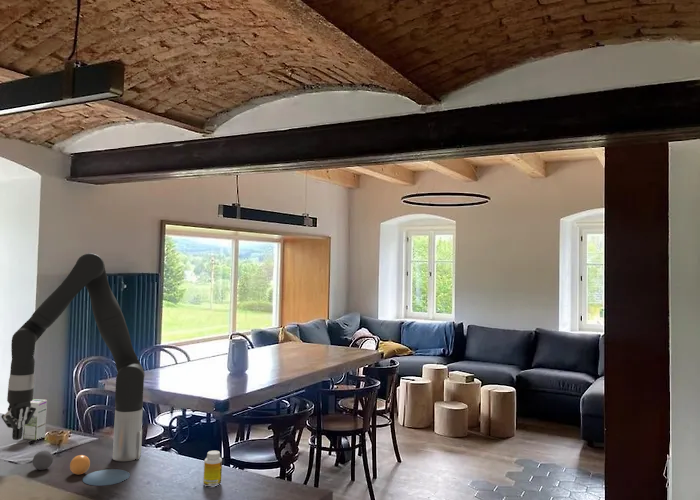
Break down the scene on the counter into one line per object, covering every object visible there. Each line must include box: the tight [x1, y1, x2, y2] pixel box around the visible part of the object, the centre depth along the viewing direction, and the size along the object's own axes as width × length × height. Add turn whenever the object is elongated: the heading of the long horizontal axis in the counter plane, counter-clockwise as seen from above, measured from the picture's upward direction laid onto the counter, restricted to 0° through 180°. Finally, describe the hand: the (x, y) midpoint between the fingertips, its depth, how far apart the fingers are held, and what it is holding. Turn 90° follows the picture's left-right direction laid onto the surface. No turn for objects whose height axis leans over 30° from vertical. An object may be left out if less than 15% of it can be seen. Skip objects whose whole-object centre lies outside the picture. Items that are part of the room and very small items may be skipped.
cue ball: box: [32, 450, 54, 471], centre depth 188 cm, size 6×6×6 cm
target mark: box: [82, 468, 131, 487], centre depth 183 cm, size 14×14×1 cm
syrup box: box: [22, 398, 48, 441], centre depth 221 cm, size 6×6×14 cm
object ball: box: [69, 454, 91, 476], centre depth 185 cm, size 6×6×6 cm
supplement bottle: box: [202, 450, 223, 487], centre depth 180 cm, size 6×6×10 cm
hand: (17, 439), depth 190 cm, fingers closed
